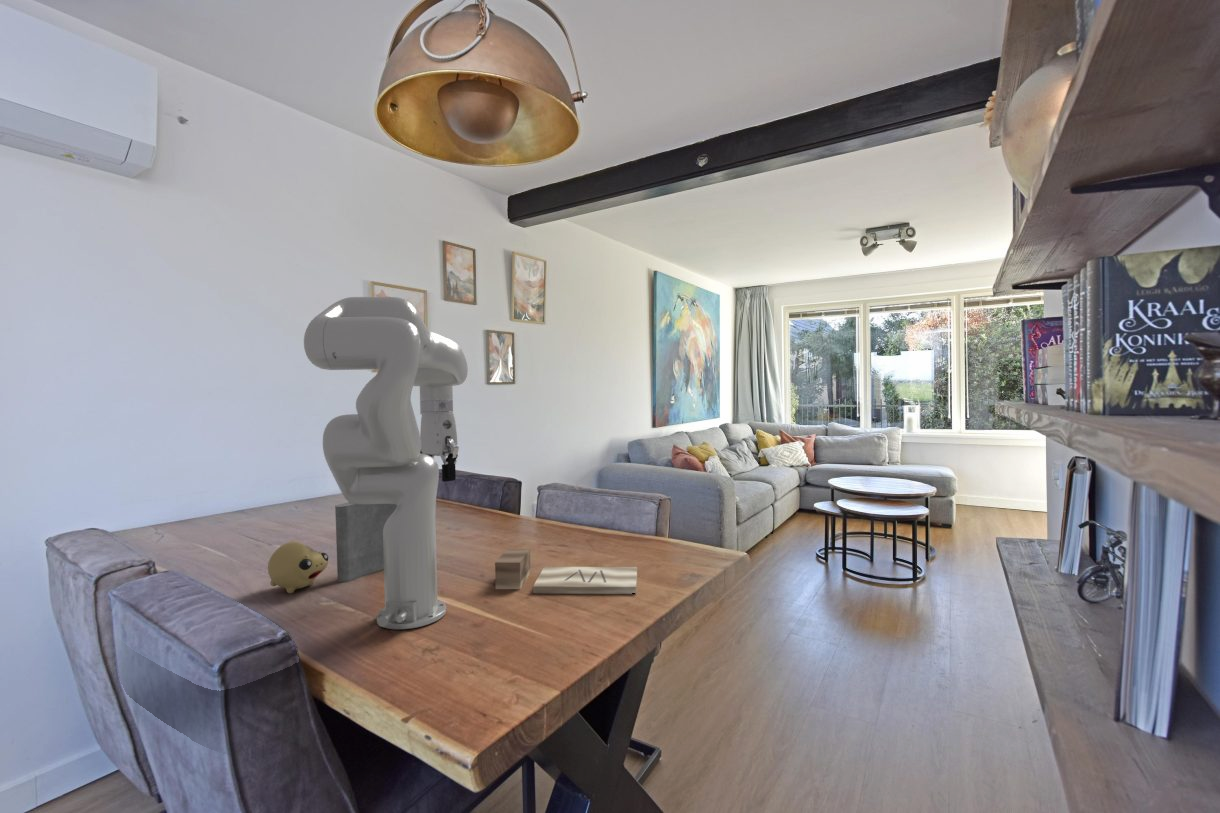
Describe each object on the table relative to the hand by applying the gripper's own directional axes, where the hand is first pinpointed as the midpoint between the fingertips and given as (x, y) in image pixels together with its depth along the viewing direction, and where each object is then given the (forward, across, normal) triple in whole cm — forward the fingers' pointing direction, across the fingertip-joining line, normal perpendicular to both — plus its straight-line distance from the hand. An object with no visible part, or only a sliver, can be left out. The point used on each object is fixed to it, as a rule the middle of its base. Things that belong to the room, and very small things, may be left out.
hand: (438, 479), depth 132 cm
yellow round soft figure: (+23, +14, +27) cm, 38 cm away
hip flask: (+23, +14, +11) cm, 29 cm away
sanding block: (+23, -19, -8) cm, 30 cm away
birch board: (+23, -32, -18) cm, 43 cm away
